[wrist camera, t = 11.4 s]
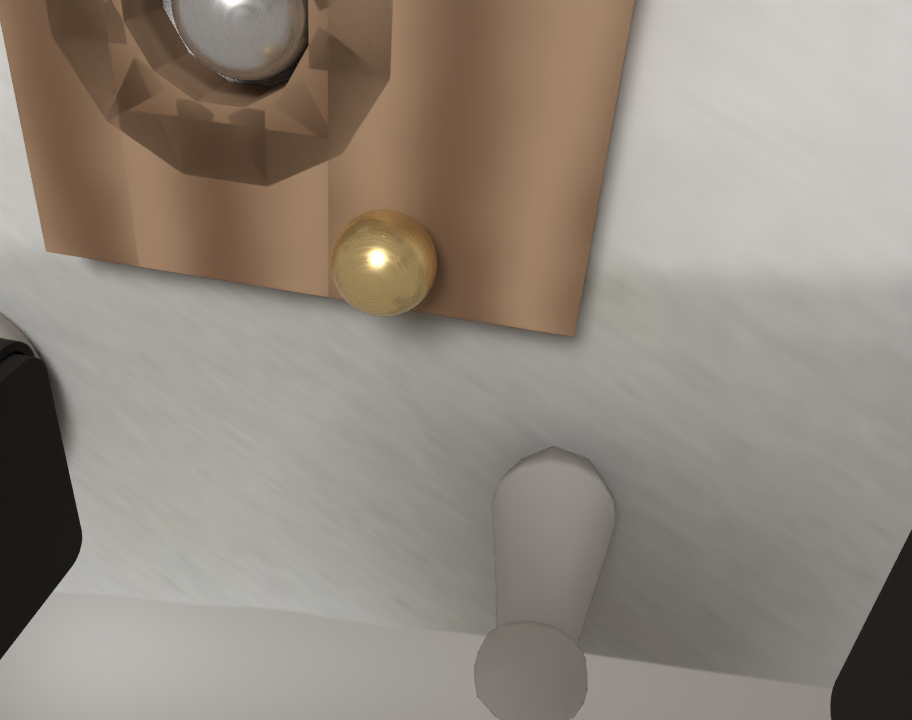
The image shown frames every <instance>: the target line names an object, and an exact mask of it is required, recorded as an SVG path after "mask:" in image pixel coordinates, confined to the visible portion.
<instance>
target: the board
mask: <svg viewBox="0 0 912 720" xmlns="http://www.w3.org/2000/svg"><path fill="white" fill-rule="evenodd" d="M634 2H635V0H308V27H309V46H308V47H307V49H306V51H305V53H304V55H303V56H302V58H301V60H300V62H299V63H298V65H297V67H296V69H295V71H294V72H293V74H292V76H291V78H290V79H289V80H287V81H284V82H282V83H280V84H278V85H276V86H274V87H268V86H260V85H253V84H245V83H238V82H231V81H228V80H226V79H225V78H223V77H222V76H221V75H219V74H218V73H216V72H215V71H213V70H212V69H210V68H209V67H207V66H206V65H205V64H203V63H202V62H201V61H200V60H198V59H197V58H196V57H194V56H193V55H192V54H190V53H189V52H188V50H187V49H186V47H185V45H184V43H183V42H182V40H181V38H180V37H179V35H178V33H177V31H176V30H175V28H174V26H173V24H172V23H171V21H170V19H169V17H168V16H167V14H166V12H165V11H164V9H163V7H162V0H0V22H1V27H2V32H3V37H4V42H5V47H6V52H7V57H8V62H9V67H10V72H11V77H12V82H13V87H14V92H15V97H16V102H17V108H18V113H19V118H20V123H21V128H22V133H23V138H24V143H25V148H26V153H27V158H28V163H29V168H30V173H31V178H32V183H33V188H34V193H35V198H36V203H37V208H38V213H39V218H40V223H41V228H42V233H43V238H44V243H45V248H46V252H52V253H58V254H64V255H70V256H77V257H83V258H89V259H95V260H101V261H108V262H114V263H120V264H126V265H132V266H138V267H145V268H151V269H157V270H163V271H169V272H176V273H182V274H188V275H194V276H200V277H207V278H213V279H219V280H225V281H231V282H237V283H244V284H250V285H256V286H262V287H268V288H275V289H281V290H287V291H293V292H299V293H306V294H312V295H318V296H324V297H330V298H337V299H343V300H345V299H344V298H343V297H342V296H341V294H340V293H339V291H338V290H337V288H336V286H335V284H334V281H333V278H332V275H331V269H330V255H331V250H332V246H333V243H334V241H335V239H336V237H337V235H338V234H339V232H340V231H341V229H342V228H343V227H344V226H345V225H346V224H347V223H348V222H349V221H350V220H352V219H353V218H354V217H356V216H358V215H360V214H362V213H364V212H367V211H371V210H377V209H389V210H395V211H399V212H402V213H404V214H406V215H408V216H410V217H412V218H413V219H415V220H416V221H417V222H418V223H420V224H421V225H422V226H423V227H424V229H425V230H426V231H427V233H428V234H429V236H430V237H431V239H432V242H433V244H434V247H435V250H436V255H437V271H436V276H435V279H434V283H433V285H432V287H431V289H430V291H429V292H428V294H427V295H426V297H425V298H424V299H423V300H422V301H421V302H420V303H419V304H418V305H416V306H415V307H414V308H412V309H410V310H411V311H417V312H423V313H429V314H436V315H442V316H448V317H454V318H460V319H466V320H473V321H479V322H485V323H491V324H497V325H504V326H510V327H516V328H522V329H528V330H535V331H541V332H547V333H553V334H559V335H566V336H572V337H574V336H575V330H576V325H577V319H578V313H579V308H580V302H581V297H582V291H583V286H584V280H585V274H586V269H587V263H588V258H589V252H590V247H591V241H592V236H593V230H594V224H595V219H596V213H597V208H598V202H599V197H600V191H601V185H602V180H603V174H604V169H605V163H606V158H607V152H608V147H609V141H610V135H611V130H612V124H613V119H614V113H615V108H616V102H617V96H618V91H619V85H620V80H621V74H622V69H623V63H624V57H625V52H626V46H627V41H628V35H629V30H630V24H631V19H632V13H633V7H634Z"/></svg>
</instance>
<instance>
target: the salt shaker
mask: <svg viewBox="0 0 912 720" xmlns="http://www.w3.org/2000/svg"><path fill="white" fill-rule="evenodd" d="M492 510H493V532H494V554H495V575H496V629H494V630H492V631H491V632H489V633H488V635H487V636H486V638H485V640H484V642H483V644H482V645H481V647H480V650H479V651H478V654H477V658H476V662H475V666H474V671H475V672H474V674H475V686H476V692H477V697H478V698H479V699H480V700H481V701H482V702H483V704H484V705H485V706H486V707H487V708H488V709H489V710H490V712H491V713H492V714H493V715H494V716H495V717H497V718H499V719H501V720H569V719H571V718H573V717H574V716H575V715H576V714H577V712H578V711H579V709H580V708H581V706H582V705H583V704H584V700H585V696H586V693H587V670H586V659H585V656H584V653H583V651H582V650H581V649H580V647H579V646H578V645H577V644H578V641H579V638H580V635H581V632H582V628H583V625H584V622H585V619H586V616H587V613H588V610H589V607H590V604H591V601H592V597H593V594H594V591H595V588H596V585H597V582H598V579H599V576H600V573H601V569H602V566H603V563H604V560H605V557H606V554H607V551H608V548H609V545H610V541H611V538H612V535H613V532H614V529H615V526H616V522H615V511H614V502H613V498H612V495H611V494H610V492H609V491H608V489H607V487H606V486H605V484H604V483H603V481H602V480H601V478H600V477H599V475H598V474H597V472H596V470H595V469H594V467H593V466H592V464H591V462H590V461H589V459H586V458H583V457H581V456H578V455H575V454H573V453H570V452H567V451H565V450H562V449H559V448H557V447H554V446H553V447H551V448H548V449H546V450H543V451H541V452H538V453H536V454H533V455H531V456H528V457H526V458H523V459H521V460H520V461H519V462H518V463H517V464H516V465H515V466H514V467H513V468H512V469H511V470H510V471H509V472H508V473H507V474H505V475H504V477H503V479H502V481H501V483H500V485H499V488H498V490H497V492H496V494H495V496H494V499H493V501H492Z"/></svg>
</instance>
